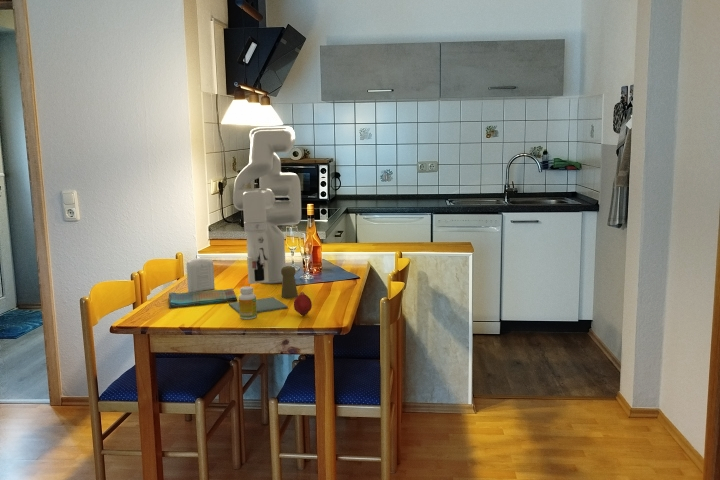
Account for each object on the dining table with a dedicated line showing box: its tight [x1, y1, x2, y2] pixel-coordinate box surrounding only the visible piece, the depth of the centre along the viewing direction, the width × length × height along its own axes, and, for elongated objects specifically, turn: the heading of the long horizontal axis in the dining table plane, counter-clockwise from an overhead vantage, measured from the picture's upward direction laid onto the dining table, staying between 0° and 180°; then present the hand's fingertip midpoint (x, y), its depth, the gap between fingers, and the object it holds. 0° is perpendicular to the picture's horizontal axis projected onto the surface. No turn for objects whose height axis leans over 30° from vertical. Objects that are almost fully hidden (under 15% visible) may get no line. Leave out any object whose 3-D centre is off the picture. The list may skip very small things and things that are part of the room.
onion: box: [293, 291, 313, 317], centre depth 217 cm, size 6×6×8 cm
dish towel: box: [168, 288, 238, 309], centre depth 243 cm, size 17×23×2 cm
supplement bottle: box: [238, 286, 258, 320], centre depth 217 cm, size 5×5×10 cm
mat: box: [228, 296, 289, 315], centre depth 230 cm, size 16×15×1 cm
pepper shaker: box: [280, 265, 299, 300], centre depth 242 cm, size 6×6×11 cm
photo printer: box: [186, 257, 216, 293], centre depth 255 cm, size 10×4×12 cm, turn 123°
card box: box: [246, 256, 269, 285], centre depth 232 cm, size 6×2×9 cm, turn 116°
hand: (258, 279), depth 233 cm, fingers closed on card box, 2 cm apart
